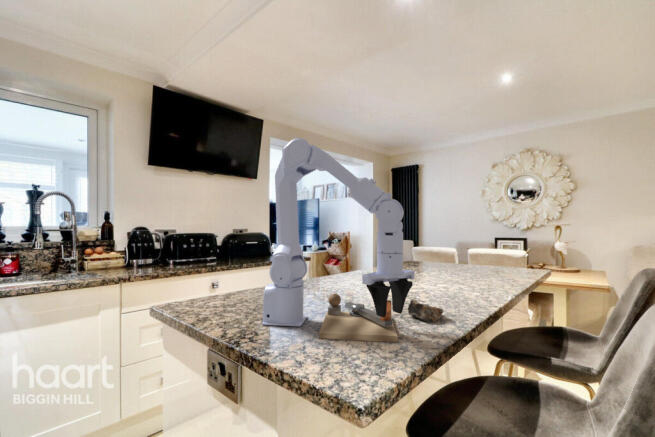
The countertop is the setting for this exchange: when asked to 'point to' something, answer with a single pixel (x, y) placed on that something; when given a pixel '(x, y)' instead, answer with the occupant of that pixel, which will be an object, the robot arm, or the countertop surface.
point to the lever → (371, 313)
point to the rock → (424, 311)
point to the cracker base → (353, 325)
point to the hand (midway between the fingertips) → (389, 314)
